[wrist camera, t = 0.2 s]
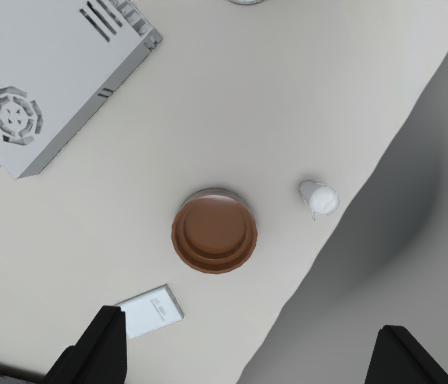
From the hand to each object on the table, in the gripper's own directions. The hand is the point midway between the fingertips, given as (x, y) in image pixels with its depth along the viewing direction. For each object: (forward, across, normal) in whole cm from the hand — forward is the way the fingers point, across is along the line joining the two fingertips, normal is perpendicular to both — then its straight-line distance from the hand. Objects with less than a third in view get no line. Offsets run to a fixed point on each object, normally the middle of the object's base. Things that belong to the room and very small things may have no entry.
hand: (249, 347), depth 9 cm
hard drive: (+37, +15, +31) cm, 51 cm away
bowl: (+37, +2, +10) cm, 39 cm away
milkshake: (+37, -14, +2) cm, 40 cm away
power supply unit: (+37, +31, -16) cm, 51 cm away
